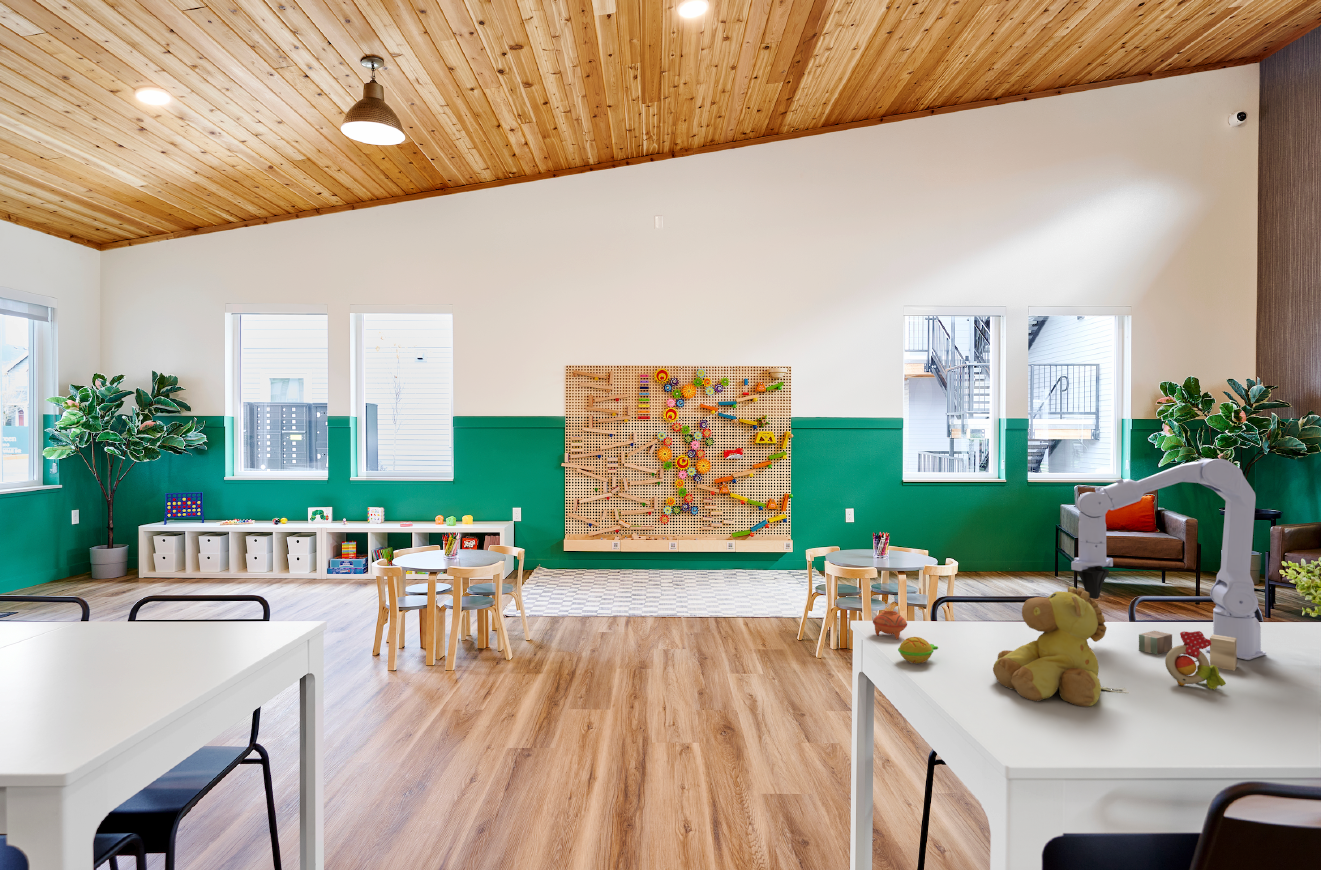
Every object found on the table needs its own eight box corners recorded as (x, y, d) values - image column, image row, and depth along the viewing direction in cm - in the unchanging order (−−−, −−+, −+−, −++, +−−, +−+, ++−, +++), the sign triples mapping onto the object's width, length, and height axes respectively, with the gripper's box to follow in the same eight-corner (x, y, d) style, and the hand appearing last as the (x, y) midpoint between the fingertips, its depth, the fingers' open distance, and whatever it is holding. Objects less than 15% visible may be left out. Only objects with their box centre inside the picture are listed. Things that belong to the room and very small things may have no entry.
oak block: (1212, 662, 148) (1212, 634, 149) (1236, 666, 146) (1236, 637, 146) (1210, 666, 146) (1209, 637, 146) (1234, 670, 143) (1234, 641, 143)
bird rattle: (1192, 702, 130) (1240, 685, 129) (1165, 647, 131) (1213, 629, 130) (1172, 691, 136) (1218, 674, 135) (1147, 638, 137) (1192, 621, 136)
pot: (876, 639, 163) (874, 610, 165) (871, 638, 171) (870, 610, 173) (911, 639, 162) (909, 610, 164) (905, 639, 170) (903, 610, 171)
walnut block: (1138, 650, 157) (1154, 646, 160) (1156, 654, 154) (1172, 649, 157) (1138, 634, 157) (1154, 630, 160) (1156, 638, 154) (1172, 634, 157)
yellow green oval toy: (891, 662, 146) (891, 637, 147) (912, 653, 153) (912, 629, 154) (923, 670, 142) (923, 644, 142) (943, 660, 149) (943, 635, 149)
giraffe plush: (974, 671, 141) (974, 578, 142) (1087, 671, 142) (1086, 578, 142) (1031, 709, 121) (1030, 600, 121) (1162, 708, 122) (1161, 600, 122)
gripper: (1091, 538, 173) (1092, 591, 173) (1058, 541, 166) (1058, 597, 166) (1121, 541, 167) (1122, 597, 167) (1088, 545, 160) (1089, 603, 160)
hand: (1092, 597), depth 166 cm, fingers closed
